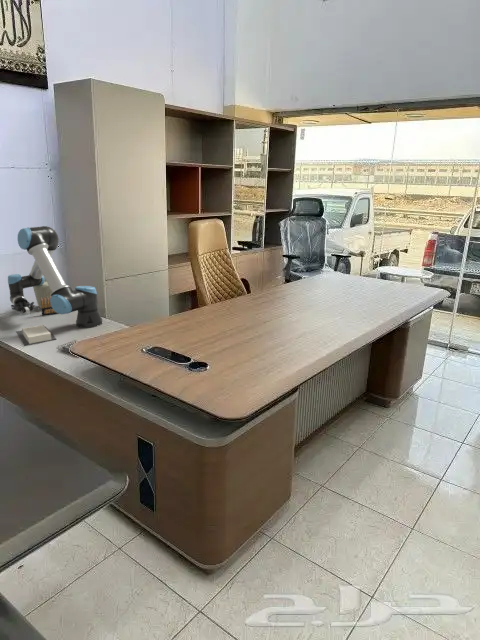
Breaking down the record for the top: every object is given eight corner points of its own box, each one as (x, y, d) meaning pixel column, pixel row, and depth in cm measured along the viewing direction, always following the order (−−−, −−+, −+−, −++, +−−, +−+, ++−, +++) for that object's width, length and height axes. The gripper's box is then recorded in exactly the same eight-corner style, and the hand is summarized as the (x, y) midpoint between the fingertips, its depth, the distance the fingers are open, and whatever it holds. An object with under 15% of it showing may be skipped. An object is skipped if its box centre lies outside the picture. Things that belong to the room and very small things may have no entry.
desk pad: (15, 332, 249) (15, 331, 249) (45, 327, 258) (45, 326, 258) (24, 345, 229) (24, 344, 228) (56, 339, 237) (56, 338, 237)
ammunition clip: (59, 312, 287) (57, 295, 283) (60, 313, 285) (57, 295, 282) (41, 315, 281) (39, 297, 278) (42, 316, 280) (39, 297, 276)
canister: (54, 302, 312) (50, 273, 305) (69, 306, 301) (65, 276, 295) (29, 308, 298) (25, 277, 292) (44, 312, 287) (39, 280, 281)
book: (22, 328, 243) (28, 337, 229) (43, 324, 249) (50, 333, 235) (22, 334, 244) (29, 343, 230) (44, 330, 250) (51, 339, 236)
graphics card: (54, 346, 220) (75, 339, 229) (55, 353, 221) (76, 345, 230) (75, 353, 211) (96, 345, 220) (76, 360, 212) (97, 352, 221)
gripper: (32, 307, 272) (41, 316, 254) (9, 310, 265) (16, 320, 247) (31, 295, 270) (39, 303, 252) (7, 298, 263) (14, 307, 245)
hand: (28, 311), depth 249 cm, fingers closed
